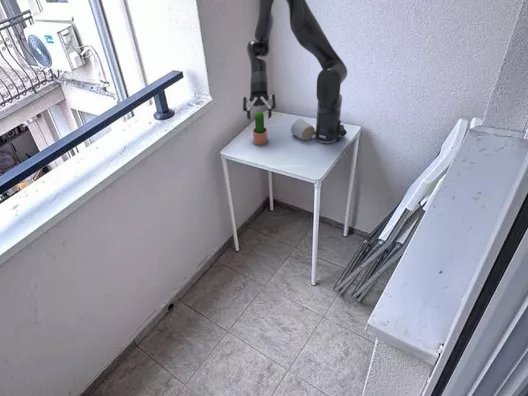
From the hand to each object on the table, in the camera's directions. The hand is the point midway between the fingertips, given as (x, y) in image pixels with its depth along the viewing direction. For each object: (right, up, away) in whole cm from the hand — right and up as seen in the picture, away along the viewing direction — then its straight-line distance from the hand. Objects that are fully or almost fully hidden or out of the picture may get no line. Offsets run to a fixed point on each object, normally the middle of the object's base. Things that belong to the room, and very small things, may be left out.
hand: (259, 119), depth 161 cm
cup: (+2, -9, +8) cm, 12 cm away
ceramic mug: (+22, -7, +5) cm, 24 cm away
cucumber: (+2, -9, +7) cm, 12 cm away
